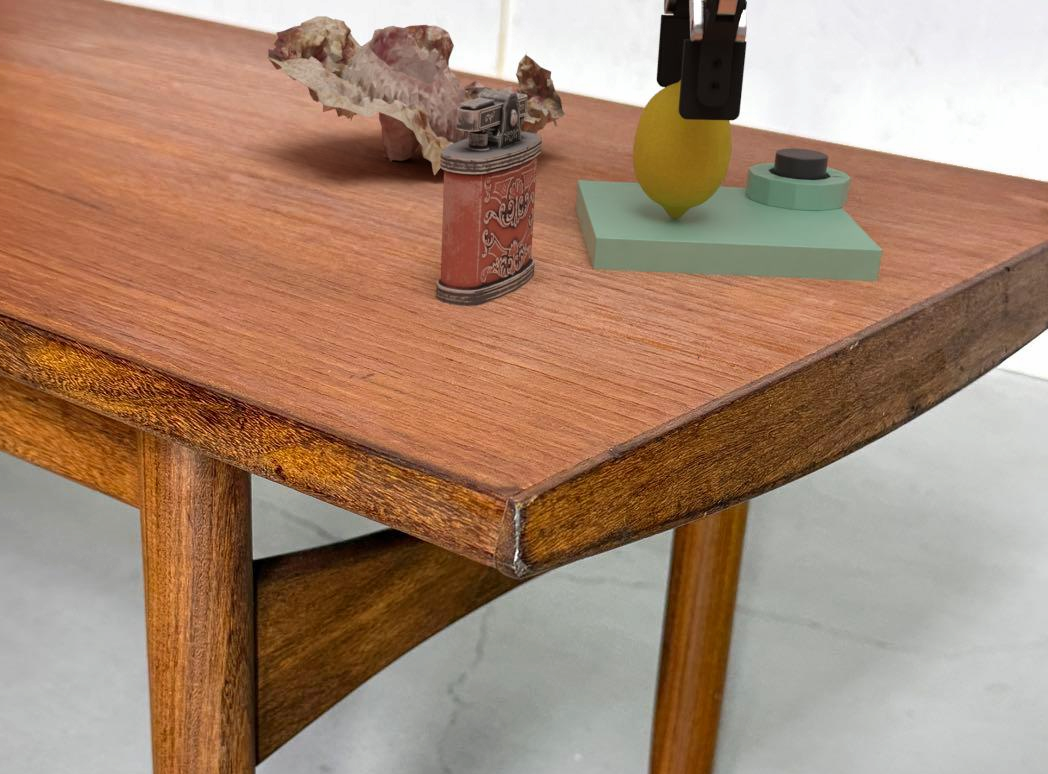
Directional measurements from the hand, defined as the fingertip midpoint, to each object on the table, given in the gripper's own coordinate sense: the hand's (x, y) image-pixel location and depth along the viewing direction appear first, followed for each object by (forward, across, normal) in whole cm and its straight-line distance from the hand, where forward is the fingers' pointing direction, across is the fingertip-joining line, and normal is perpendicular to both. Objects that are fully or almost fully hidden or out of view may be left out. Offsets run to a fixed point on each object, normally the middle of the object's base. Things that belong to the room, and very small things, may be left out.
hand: (695, 101), depth 84 cm
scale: (+9, +2, -2) cm, 9 cm away
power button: (+6, +6, -8) cm, 12 cm away
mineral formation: (+8, +21, +16) cm, 27 cm away
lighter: (+8, -9, +12) cm, 17 cm away
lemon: (+7, 0, +1) cm, 7 cm away
